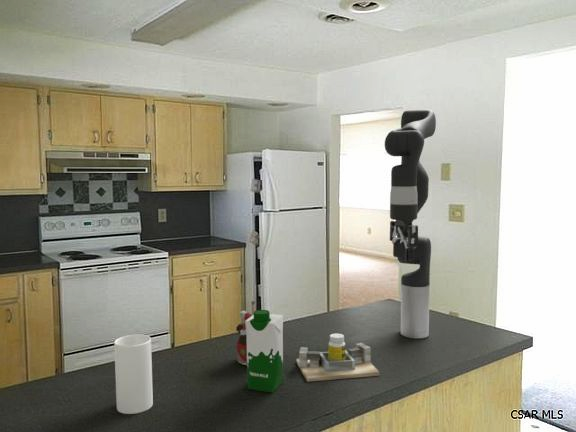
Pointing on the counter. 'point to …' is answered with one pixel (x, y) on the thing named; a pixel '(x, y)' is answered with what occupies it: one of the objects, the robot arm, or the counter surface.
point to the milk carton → (264, 351)
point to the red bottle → (243, 336)
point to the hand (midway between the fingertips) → (403, 259)
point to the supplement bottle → (336, 348)
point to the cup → (133, 373)
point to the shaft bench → (336, 364)
